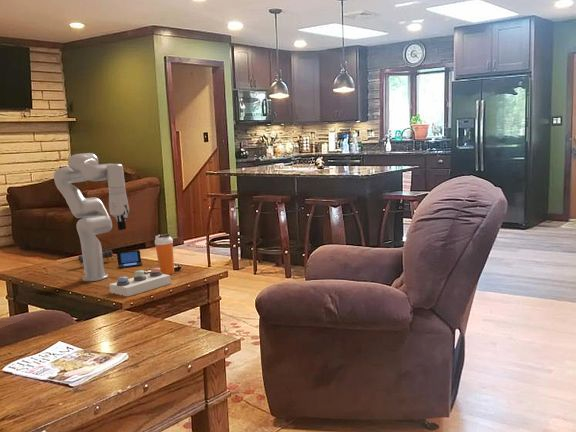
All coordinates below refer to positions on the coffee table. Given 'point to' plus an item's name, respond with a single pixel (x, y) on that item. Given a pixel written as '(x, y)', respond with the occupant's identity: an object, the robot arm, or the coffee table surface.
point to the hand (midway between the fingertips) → (122, 229)
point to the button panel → (140, 284)
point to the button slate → (123, 279)
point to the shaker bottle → (165, 253)
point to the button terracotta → (155, 270)
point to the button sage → (139, 272)
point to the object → (129, 259)
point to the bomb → (105, 255)
